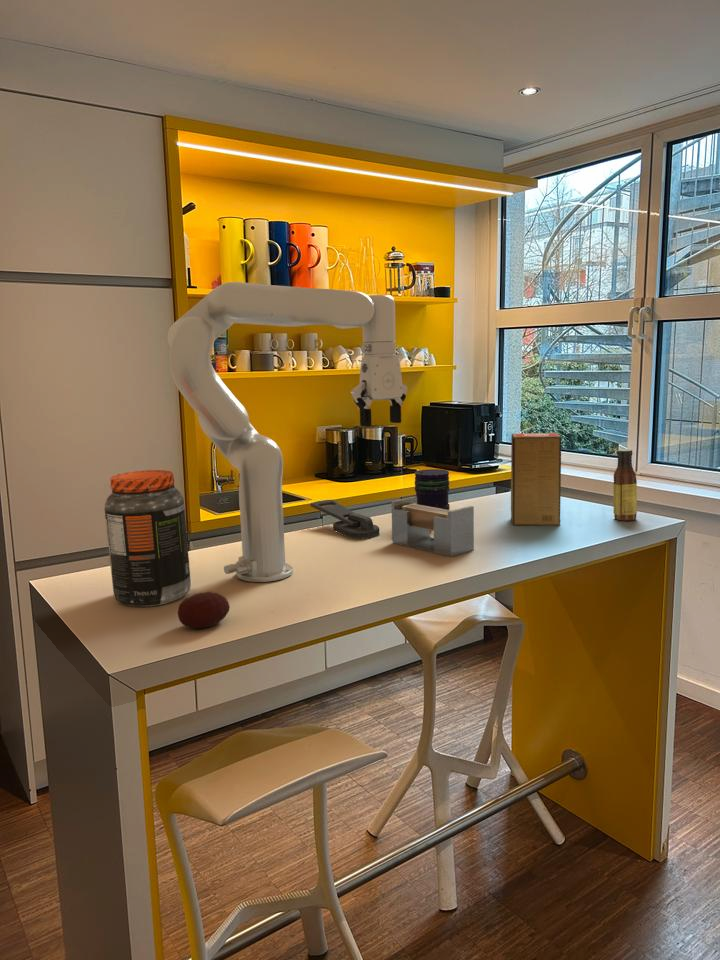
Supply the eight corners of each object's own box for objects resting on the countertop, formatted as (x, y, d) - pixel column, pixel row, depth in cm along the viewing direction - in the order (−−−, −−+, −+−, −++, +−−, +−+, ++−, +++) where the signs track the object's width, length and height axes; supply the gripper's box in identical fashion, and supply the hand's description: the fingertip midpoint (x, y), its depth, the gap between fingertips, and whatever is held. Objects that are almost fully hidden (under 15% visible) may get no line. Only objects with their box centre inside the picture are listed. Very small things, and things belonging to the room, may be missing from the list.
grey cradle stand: (451, 557, 176) (450, 512, 175) (392, 542, 191) (391, 501, 189) (473, 549, 182) (473, 506, 180) (414, 536, 197) (414, 496, 195)
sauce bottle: (640, 518, 210) (642, 449, 206) (631, 522, 205) (633, 451, 202) (617, 515, 214) (619, 447, 211) (608, 519, 209) (610, 450, 206)
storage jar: (447, 518, 217) (446, 468, 214) (452, 526, 207) (452, 474, 204) (413, 520, 216) (412, 469, 214) (417, 527, 207) (416, 475, 204)
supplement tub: (172, 579, 165) (163, 465, 161) (204, 596, 153) (196, 473, 148) (101, 595, 155) (90, 474, 151) (130, 615, 143) (118, 484, 139)
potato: (171, 627, 136) (169, 595, 135) (220, 613, 143) (218, 583, 141) (189, 638, 131) (187, 605, 130) (239, 623, 137) (237, 591, 136)
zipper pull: (332, 498, 219) (383, 511, 198) (333, 520, 220) (384, 535, 200) (307, 502, 213) (356, 516, 193) (308, 525, 215) (357, 541, 194)
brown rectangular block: (449, 534, 178) (449, 515, 177) (402, 524, 190) (401, 506, 189) (462, 530, 181) (461, 511, 180) (414, 520, 193) (414, 503, 192)
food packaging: (556, 518, 213) (558, 432, 209) (561, 525, 204) (562, 436, 200) (510, 518, 215) (510, 432, 211) (512, 525, 206) (512, 436, 201)
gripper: (362, 350, 161) (364, 428, 164) (417, 349, 173) (418, 422, 176) (340, 351, 167) (342, 426, 170) (394, 350, 178) (395, 420, 181)
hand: (381, 424), depth 173 cm, fingers open, 9 cm apart
